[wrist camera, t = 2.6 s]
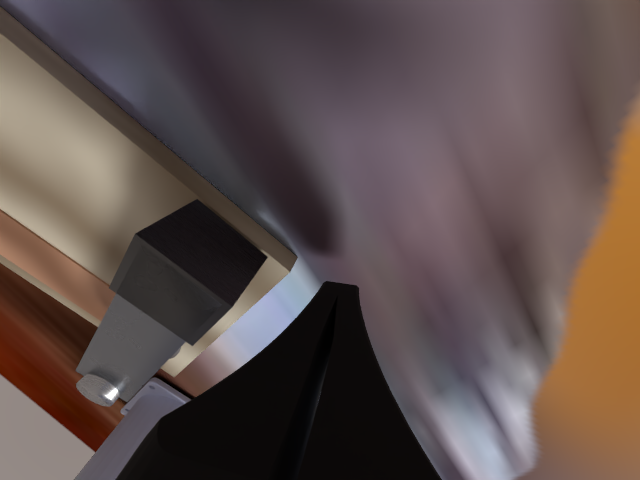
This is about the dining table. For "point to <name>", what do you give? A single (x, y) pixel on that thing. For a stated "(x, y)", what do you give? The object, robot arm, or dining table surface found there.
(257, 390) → the robot arm
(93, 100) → the board
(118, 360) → the leg
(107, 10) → the dining table surface
